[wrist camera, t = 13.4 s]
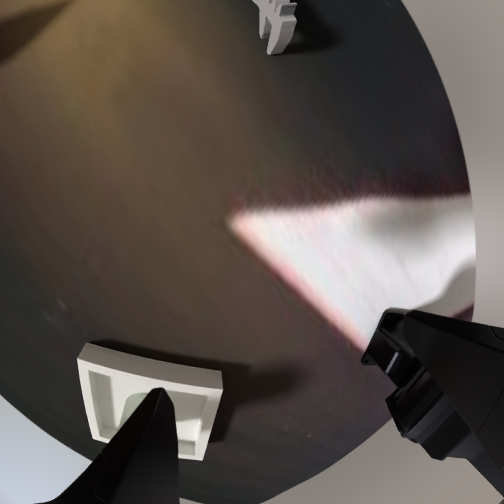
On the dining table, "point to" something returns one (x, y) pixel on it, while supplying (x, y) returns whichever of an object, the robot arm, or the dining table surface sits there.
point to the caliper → (276, 23)
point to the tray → (142, 381)
